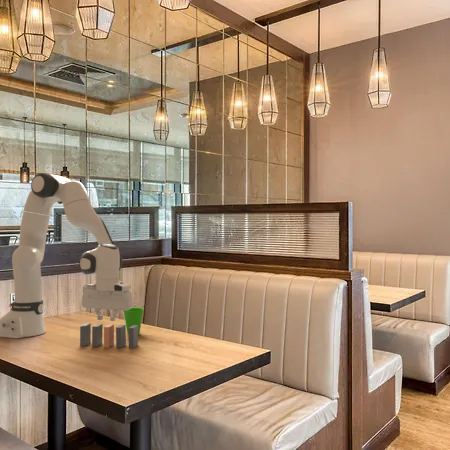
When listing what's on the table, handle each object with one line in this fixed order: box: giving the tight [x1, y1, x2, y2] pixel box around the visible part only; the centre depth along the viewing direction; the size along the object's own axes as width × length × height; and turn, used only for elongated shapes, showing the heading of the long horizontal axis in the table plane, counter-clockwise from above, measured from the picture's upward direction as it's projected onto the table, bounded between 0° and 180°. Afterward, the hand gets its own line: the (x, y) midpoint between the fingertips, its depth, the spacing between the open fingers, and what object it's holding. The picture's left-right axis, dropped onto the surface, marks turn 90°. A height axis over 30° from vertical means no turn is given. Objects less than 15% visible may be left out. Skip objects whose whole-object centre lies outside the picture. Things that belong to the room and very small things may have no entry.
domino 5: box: [128, 325, 139, 350], centre depth 178 cm, size 2×5×8 cm, turn 171°
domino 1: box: [79, 322, 92, 347], centre depth 181 cm, size 2×5×8 cm, turn 171°
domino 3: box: [103, 323, 115, 348], centre depth 180 cm, size 2×5×8 cm, turn 171°
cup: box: [122, 306, 145, 336], centre depth 198 cm, size 9×9×11 cm
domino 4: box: [115, 324, 127, 349], centre depth 179 cm, size 2×5×8 cm, turn 171°
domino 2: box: [91, 323, 104, 348], centre depth 181 cm, size 2×5×8 cm, turn 171°
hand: (106, 320), depth 179 cm, fingers open, 4 cm apart
